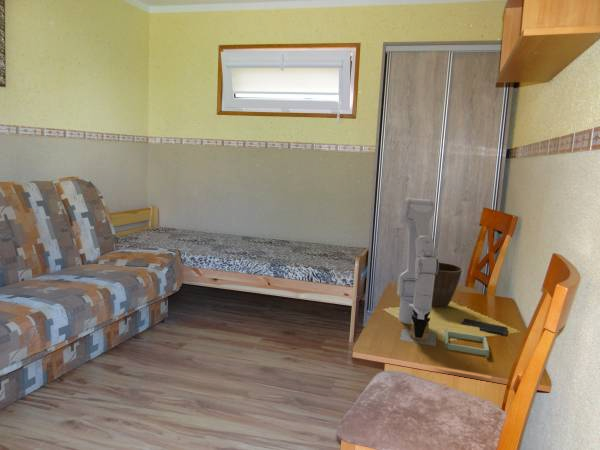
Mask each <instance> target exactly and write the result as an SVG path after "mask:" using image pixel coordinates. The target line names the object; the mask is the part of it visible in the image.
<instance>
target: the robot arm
mask: <svg viewBox="0 0 600 450" xmlns="http://www.w3.org/2000/svg"><path fill="white" fill-rule="evenodd" d="M435 208H436V206H435V201H434V199H425V198H424V199H423V198H414V197H413V198H412V197H406V198H405V199H404V201H403V206H402V221H403V222H404V223H405V224H406V225H407V248H406V249H407V254H406V270H405V271H403V272H402V273H400V274H399V275H398V278H397V283H396V294H397V296H398V297H399V298H400V301H399V309H398V310H399V311H398V317H397V318H398V321H399V322H400V323H402V324H406V325H411V322H412V321H413V323H414V330H415V337H418V338H422V336H423V334H424V330H425V327H426V325H427V324H429V322H430V321H431V317H429V315H430V314H431V312H432V310H433V308H432V307H433V306H431V305H432V297H433V289H434V280H435V275H437V273H438V269H439V263H440V262H439V258H438V255H437V254H436V251H435V244H434V239H433V238H432V237H431V236H430V221H431V220H432V217H433V216H434V214H435V213H434V212H435ZM434 274H435V275H434Z"/></svg>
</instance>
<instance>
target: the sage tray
mask: <svg viewBox="0 0 600 450" xmlns="http://www.w3.org/2000/svg"><path fill="white" fill-rule="evenodd" d="M449 337H450V338H456V339H463V340H467V341H469V340H470V341H474V342H475V341H476V342H480V343H482V345H483V348H479V347H474V346H468V345H462V344H461V345H460V344H456V343H449ZM444 350H451V351H455V352H461V353H462V352H463V353H467V354H472V355H480V356H484V357H485V358H486V359H489V356H490V348H489V344H488V341H487V337H486V336H484V335H479V334H478V335H477V334H471V333H464V332H459V331H453V330H446V329H445V330H444Z"/></svg>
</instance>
